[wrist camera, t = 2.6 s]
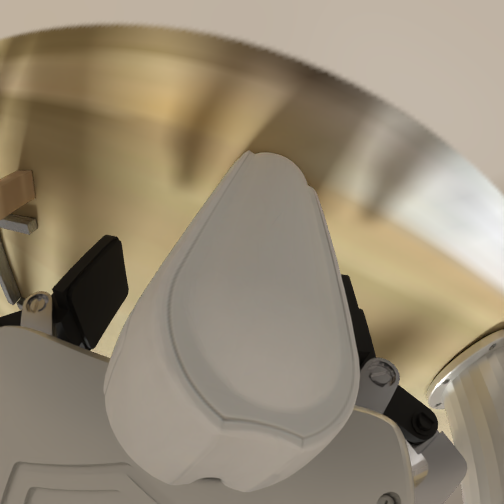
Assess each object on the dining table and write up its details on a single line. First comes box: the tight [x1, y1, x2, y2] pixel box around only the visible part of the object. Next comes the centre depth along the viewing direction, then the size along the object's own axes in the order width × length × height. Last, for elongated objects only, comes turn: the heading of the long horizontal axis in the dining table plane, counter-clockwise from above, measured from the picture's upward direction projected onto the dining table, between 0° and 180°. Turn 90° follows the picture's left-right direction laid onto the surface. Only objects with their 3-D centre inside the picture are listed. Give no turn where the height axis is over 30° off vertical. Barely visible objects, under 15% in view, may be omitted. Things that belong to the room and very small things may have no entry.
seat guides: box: [0, 214, 38, 310], centre depth 17 cm, size 8×11×2 cm
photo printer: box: [103, 151, 360, 492], centre depth 9 cm, size 10×4×12 cm, turn 151°
